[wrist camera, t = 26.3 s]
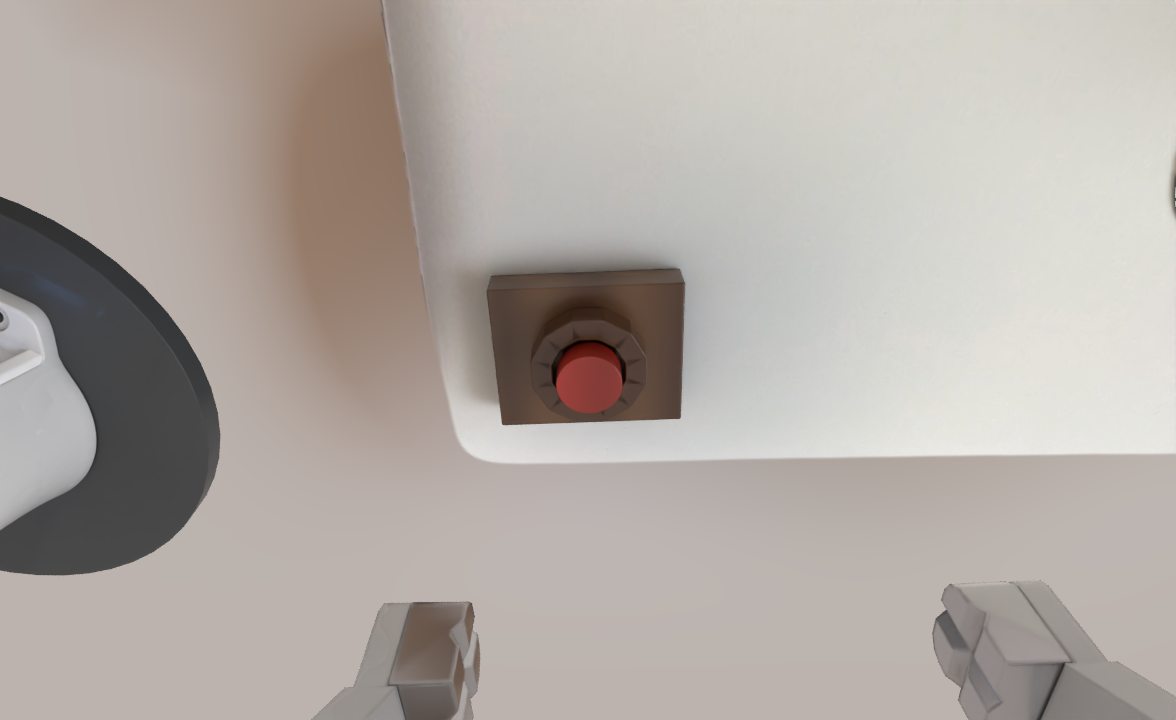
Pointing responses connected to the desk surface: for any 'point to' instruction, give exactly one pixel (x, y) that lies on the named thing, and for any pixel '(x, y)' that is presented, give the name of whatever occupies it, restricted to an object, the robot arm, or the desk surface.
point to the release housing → (588, 314)
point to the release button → (589, 377)
